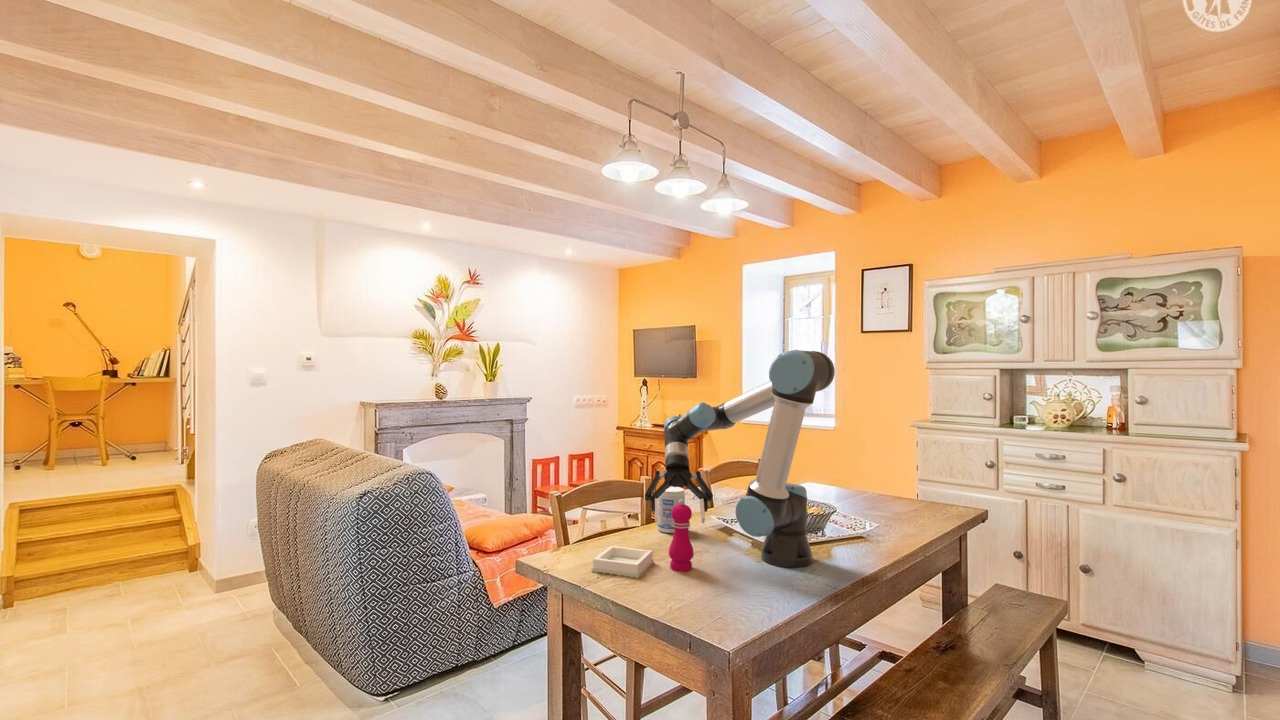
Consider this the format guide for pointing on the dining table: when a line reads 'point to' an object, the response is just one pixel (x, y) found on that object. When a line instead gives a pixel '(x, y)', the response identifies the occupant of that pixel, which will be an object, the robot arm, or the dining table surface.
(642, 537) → the dining table surface
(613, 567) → the ceramic tray
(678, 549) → the pepper mill
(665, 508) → the supplement tub
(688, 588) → the dining table surface
